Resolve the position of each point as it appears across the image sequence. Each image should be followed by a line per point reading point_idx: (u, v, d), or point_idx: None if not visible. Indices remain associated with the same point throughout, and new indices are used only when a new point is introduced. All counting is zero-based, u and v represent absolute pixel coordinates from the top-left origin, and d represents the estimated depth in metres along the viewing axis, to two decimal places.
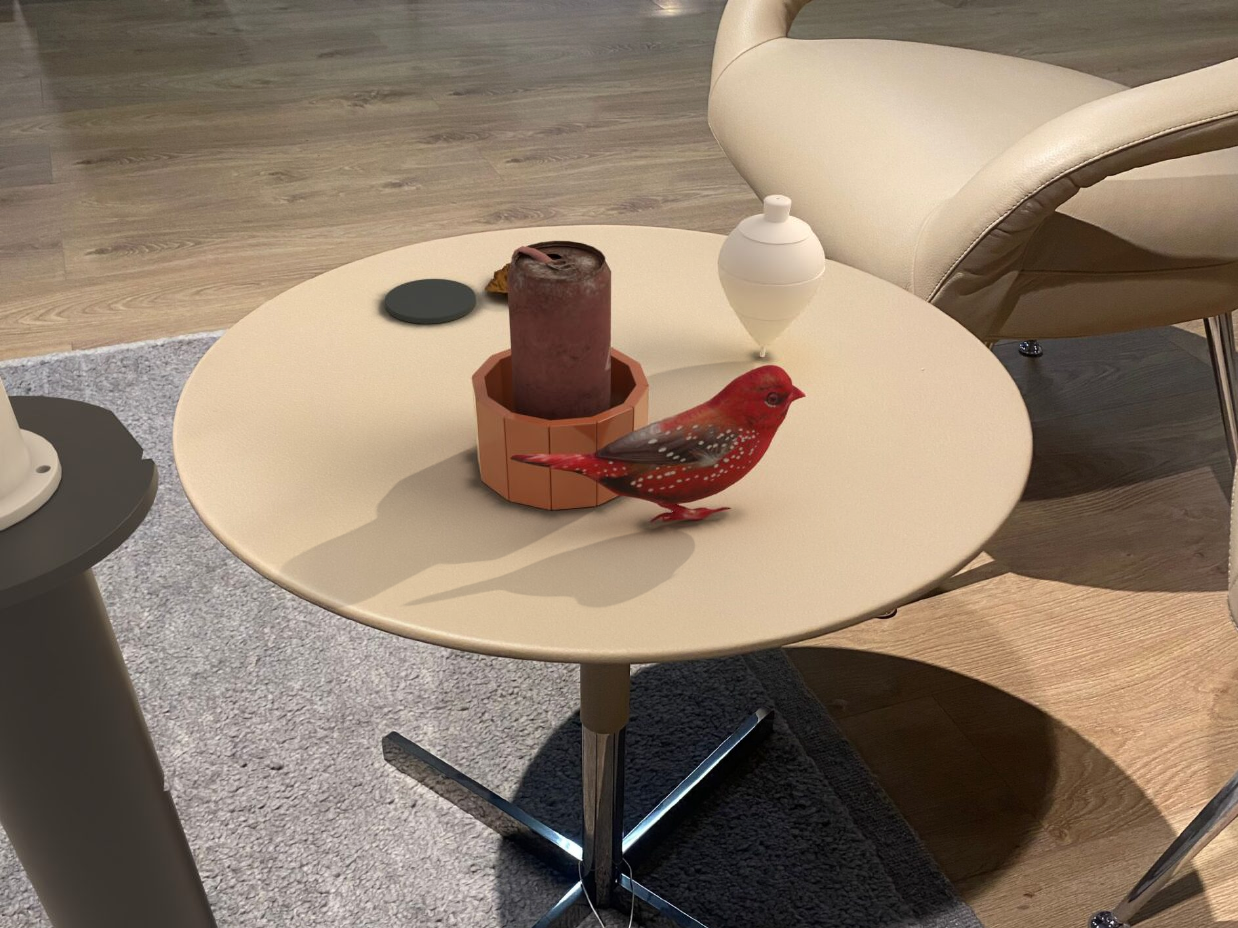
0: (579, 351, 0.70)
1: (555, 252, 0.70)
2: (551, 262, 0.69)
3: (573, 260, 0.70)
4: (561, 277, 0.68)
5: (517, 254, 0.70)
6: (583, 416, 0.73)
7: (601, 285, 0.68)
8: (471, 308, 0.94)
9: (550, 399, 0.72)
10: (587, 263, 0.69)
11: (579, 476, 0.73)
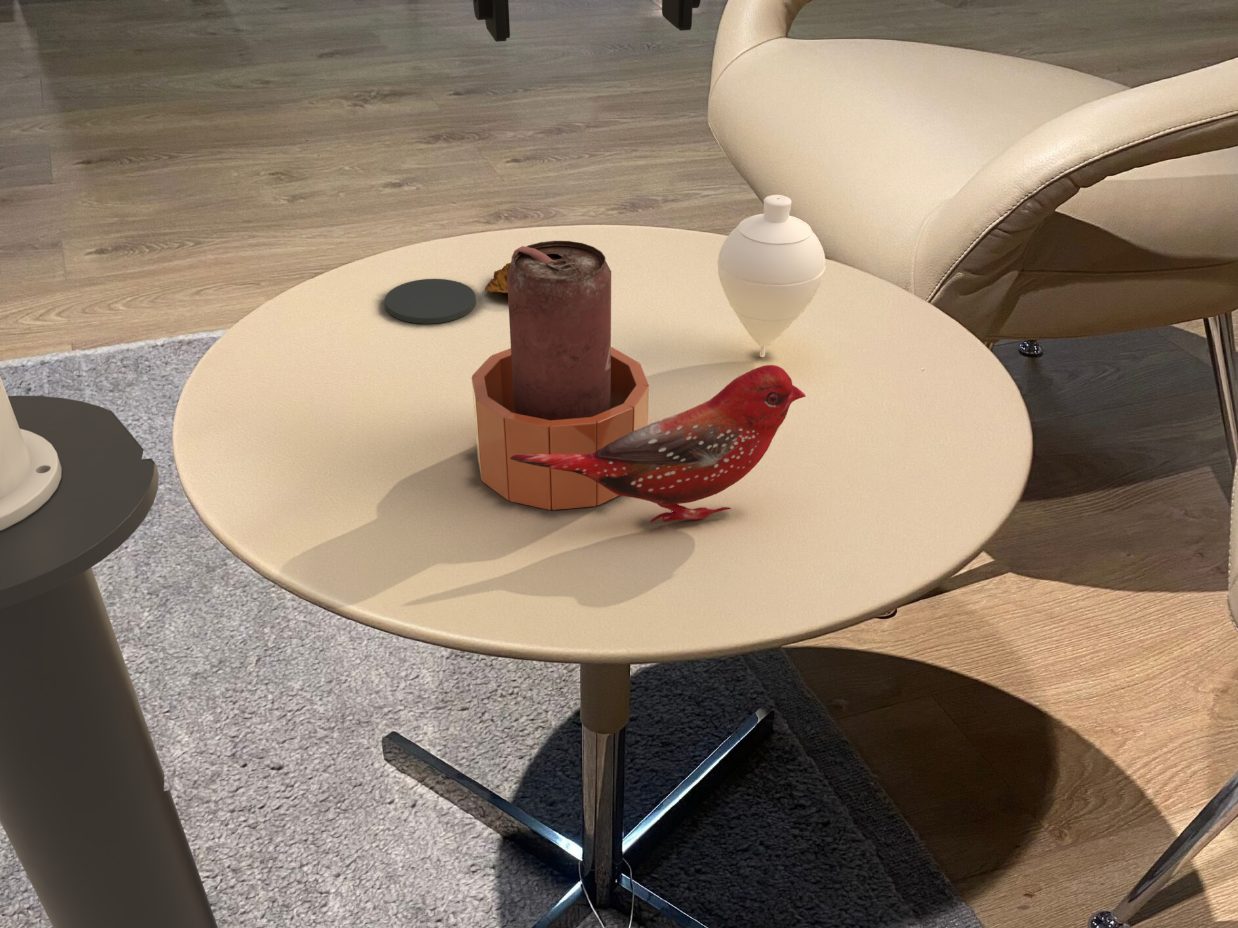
0: (579, 351, 0.70)
1: (555, 252, 0.70)
2: (551, 263, 0.69)
3: (573, 260, 0.70)
4: (561, 277, 0.68)
5: (517, 254, 0.70)
6: (583, 416, 0.73)
7: (601, 285, 0.68)
8: (471, 308, 0.94)
9: (550, 399, 0.72)
10: (587, 263, 0.69)
11: (579, 476, 0.73)
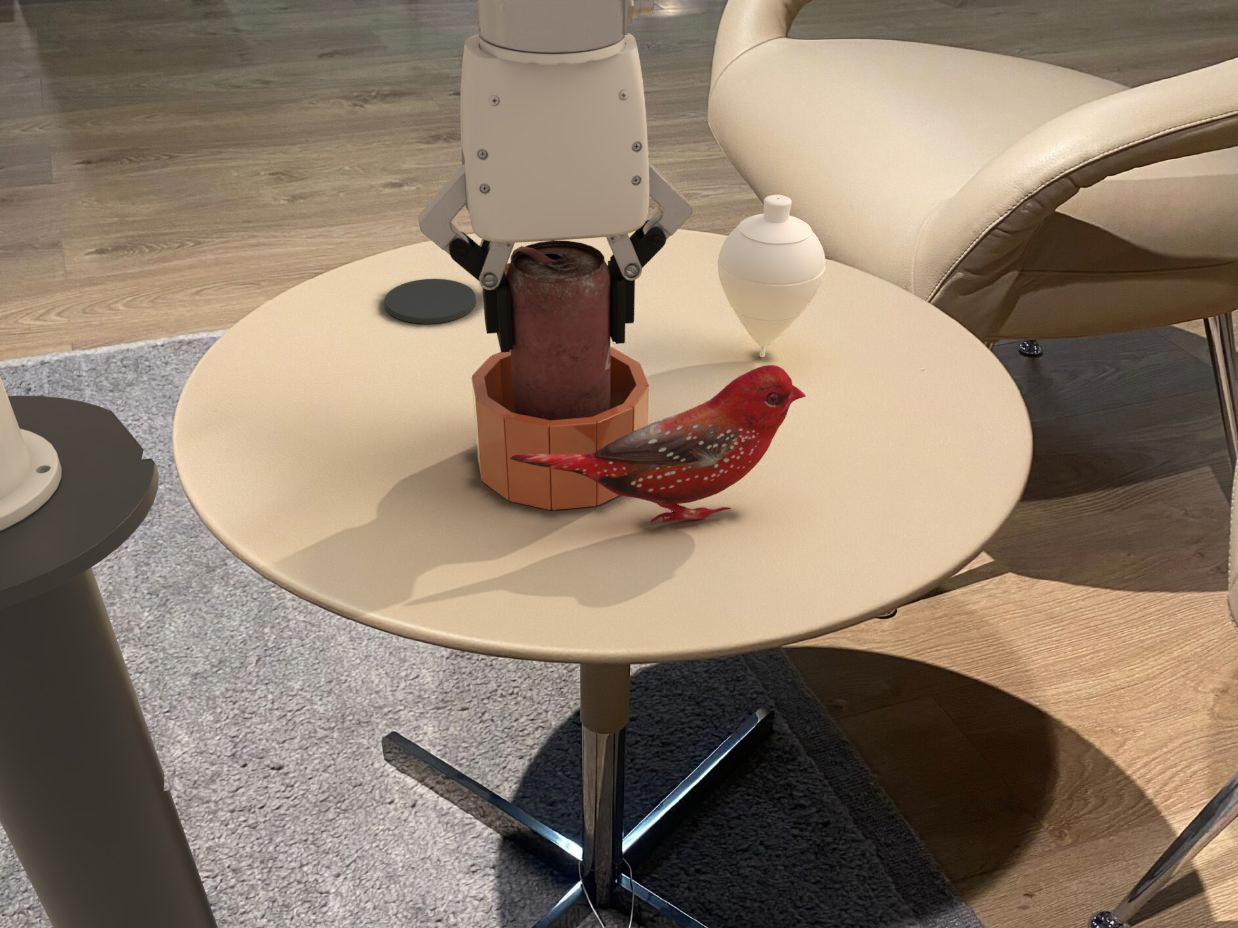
0: (579, 351, 0.70)
1: (554, 252, 0.70)
2: (551, 262, 0.69)
3: (572, 260, 0.70)
4: (560, 277, 0.68)
5: (516, 254, 0.70)
6: (583, 416, 0.73)
7: (600, 285, 0.68)
8: (471, 308, 0.94)
9: (550, 399, 0.72)
10: (586, 263, 0.69)
11: (579, 476, 0.73)
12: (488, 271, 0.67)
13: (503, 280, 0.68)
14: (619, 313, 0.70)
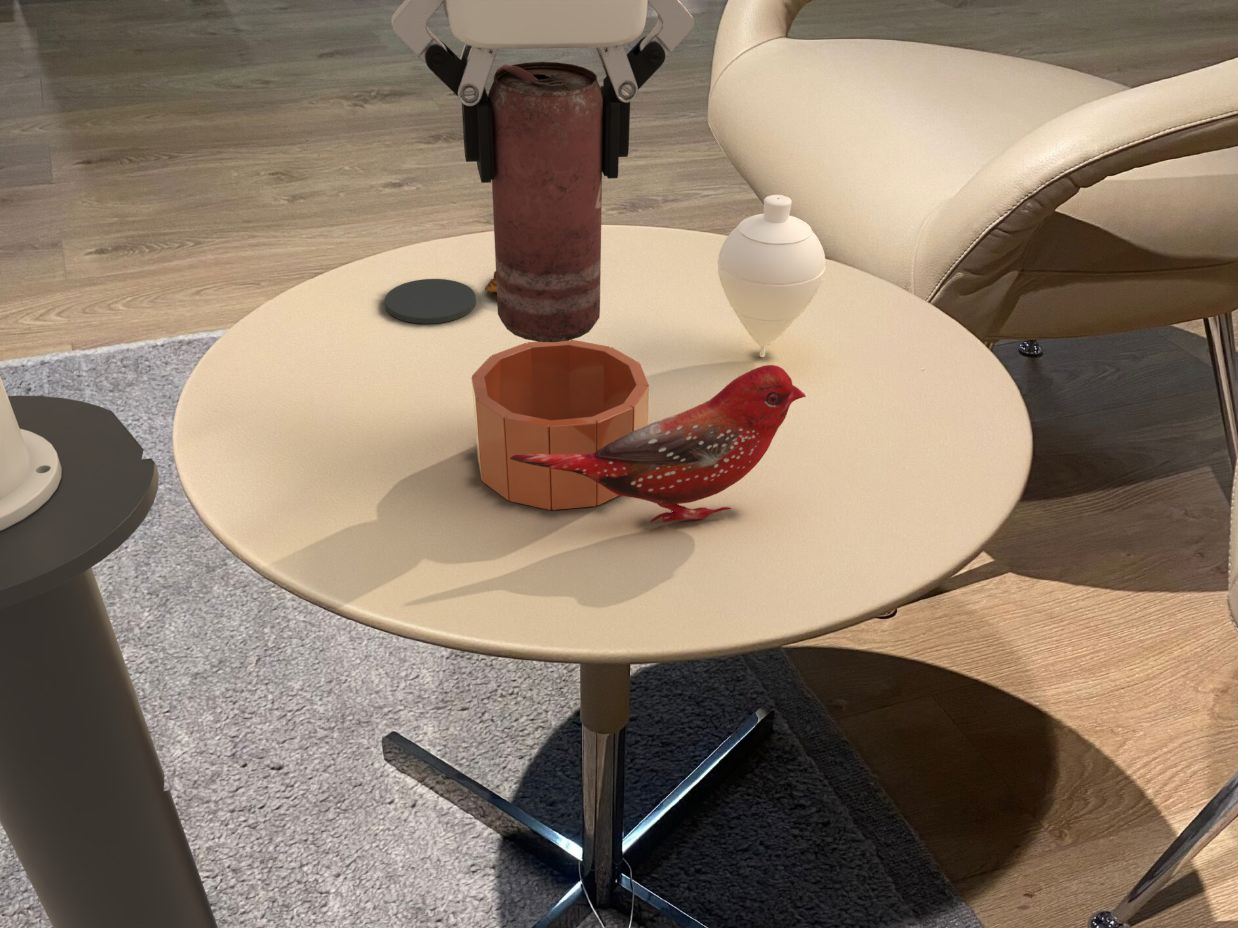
0: (567, 180, 0.63)
1: (542, 73, 0.64)
2: (537, 81, 0.63)
3: (561, 80, 0.63)
4: None
5: (500, 72, 0.63)
6: (570, 259, 0.66)
7: (592, 104, 0.62)
8: (471, 308, 0.94)
9: (535, 237, 0.65)
10: (577, 82, 0.63)
11: (579, 476, 0.73)
12: (468, 83, 0.61)
13: (485, 96, 0.62)
14: (612, 141, 0.64)
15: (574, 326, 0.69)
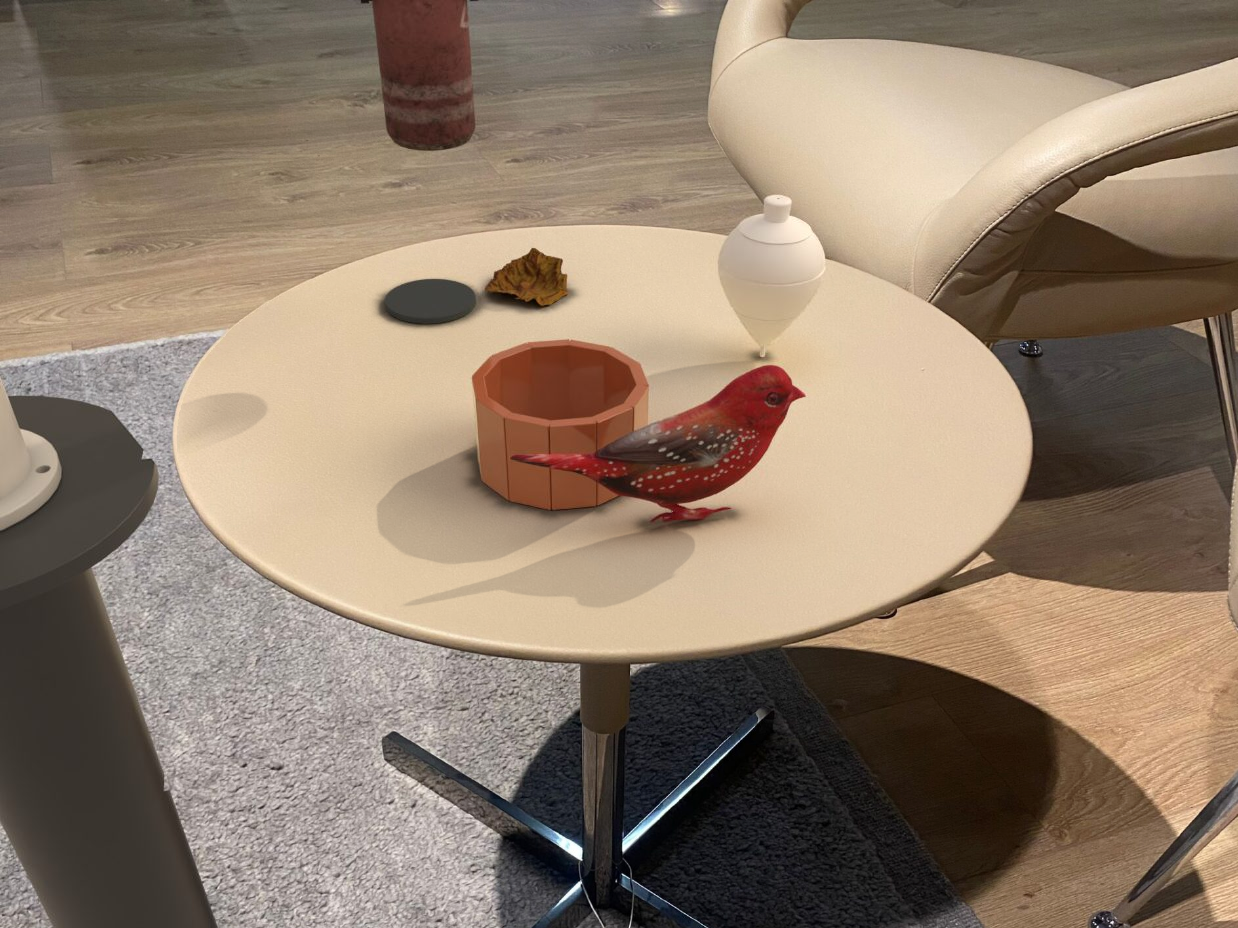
0: None
1: None
2: None
3: None
4: None
5: None
6: (440, 72, 0.78)
7: None
8: (471, 308, 0.94)
9: (408, 51, 0.77)
10: None
11: (579, 476, 0.73)
12: None
13: None
14: None
15: (448, 135, 0.80)
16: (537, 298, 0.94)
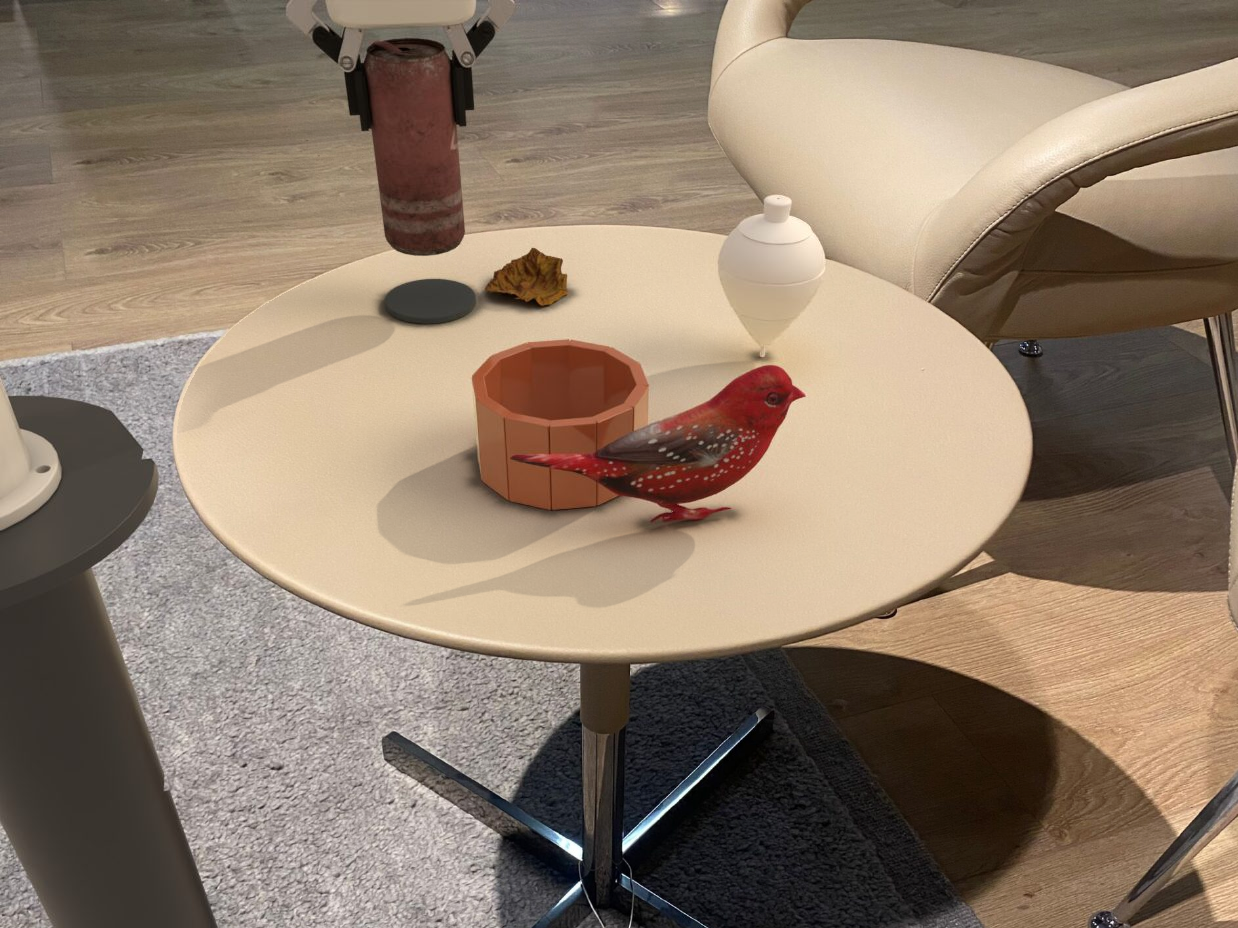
0: (425, 127, 0.84)
1: (405, 46, 0.84)
2: (400, 52, 0.83)
3: (419, 51, 0.84)
4: None
5: (372, 46, 0.84)
6: (433, 189, 0.87)
7: (439, 68, 0.82)
8: (471, 308, 0.94)
9: (404, 172, 0.86)
10: (430, 53, 0.83)
11: (579, 476, 0.73)
12: (345, 55, 0.81)
13: (359, 65, 0.82)
14: (459, 97, 0.84)
15: (441, 242, 0.89)
16: (537, 298, 0.94)
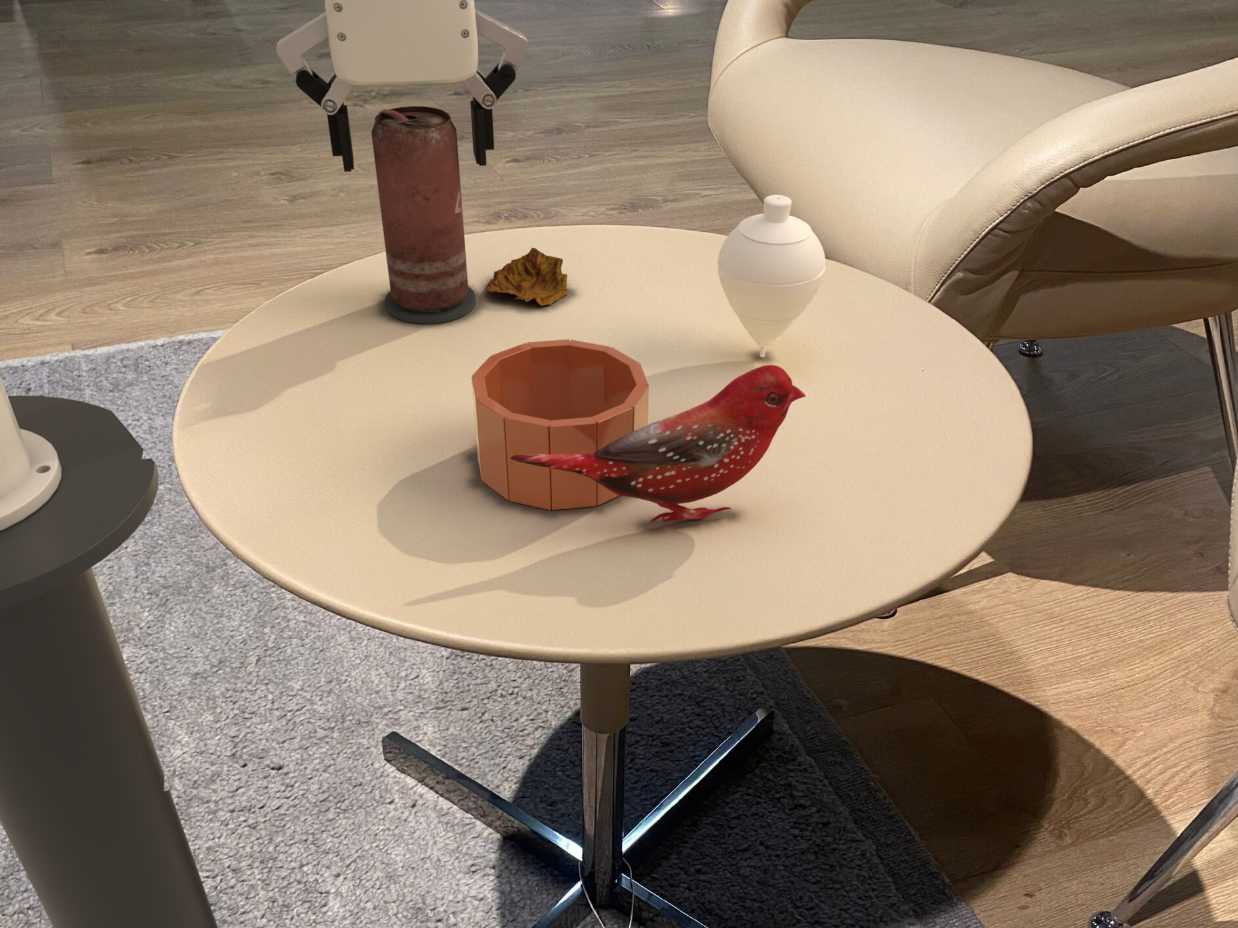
0: (430, 193, 0.87)
1: (412, 114, 0.88)
2: (407, 121, 0.86)
3: (425, 119, 0.87)
4: None
5: (380, 115, 0.87)
6: (438, 251, 0.90)
7: (445, 137, 0.85)
8: (471, 308, 0.94)
9: (410, 235, 0.89)
10: (436, 121, 0.86)
11: (579, 476, 0.73)
12: (328, 98, 0.83)
13: (342, 107, 0.84)
14: (480, 137, 0.86)
15: (445, 300, 0.92)
16: (537, 298, 0.94)
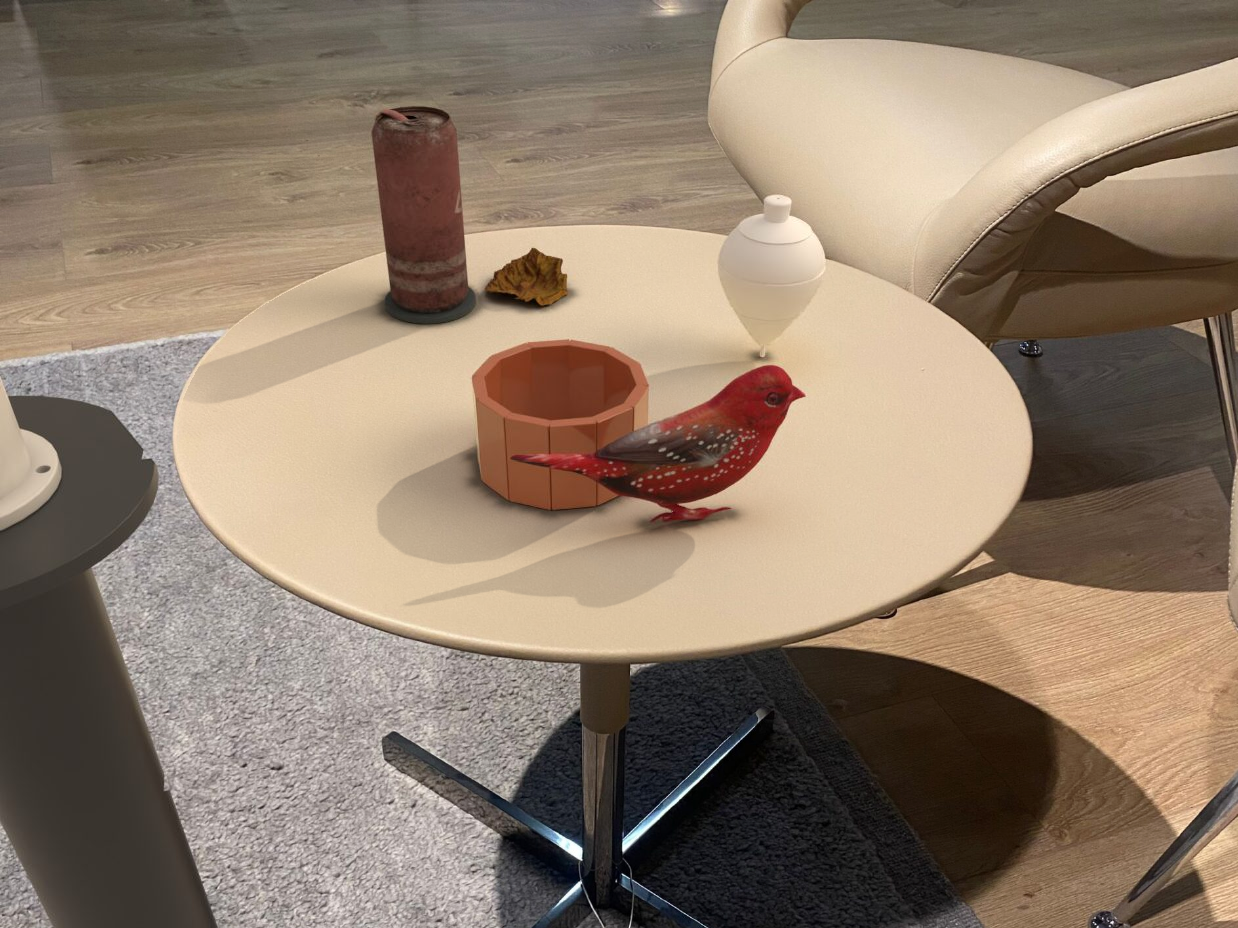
0: (430, 193, 0.87)
1: (412, 114, 0.88)
2: (407, 121, 0.86)
3: (425, 119, 0.87)
4: None
5: (380, 115, 0.87)
6: (438, 251, 0.90)
7: (445, 137, 0.85)
8: (471, 308, 0.94)
9: (410, 235, 0.89)
10: (436, 121, 0.86)
11: (579, 476, 0.73)
12: None
13: None
14: None
15: (445, 300, 0.92)
16: (537, 298, 0.94)
